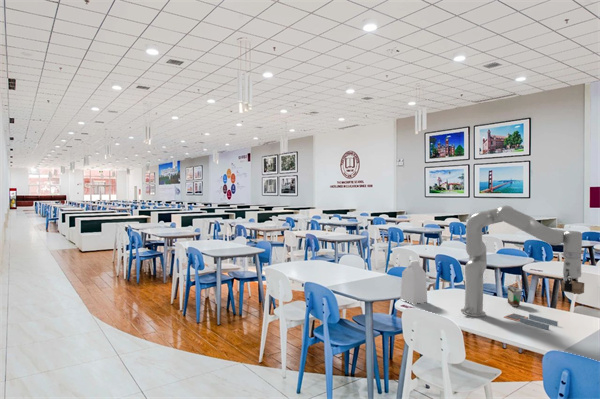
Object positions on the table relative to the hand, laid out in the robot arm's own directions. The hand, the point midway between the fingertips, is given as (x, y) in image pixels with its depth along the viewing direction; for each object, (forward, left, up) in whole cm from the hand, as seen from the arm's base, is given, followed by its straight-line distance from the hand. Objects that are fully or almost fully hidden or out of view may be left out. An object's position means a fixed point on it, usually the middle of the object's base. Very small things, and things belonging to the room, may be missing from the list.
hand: (570, 289), depth 197 cm
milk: (-26, +78, -22) cm, 85 cm away
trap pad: (-2, +26, -21) cm, 34 cm away
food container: (+22, +38, -22) cm, 49 cm away
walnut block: (0, -1, -1) cm, 1 cm away
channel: (-2, +14, -21) cm, 26 cm away
